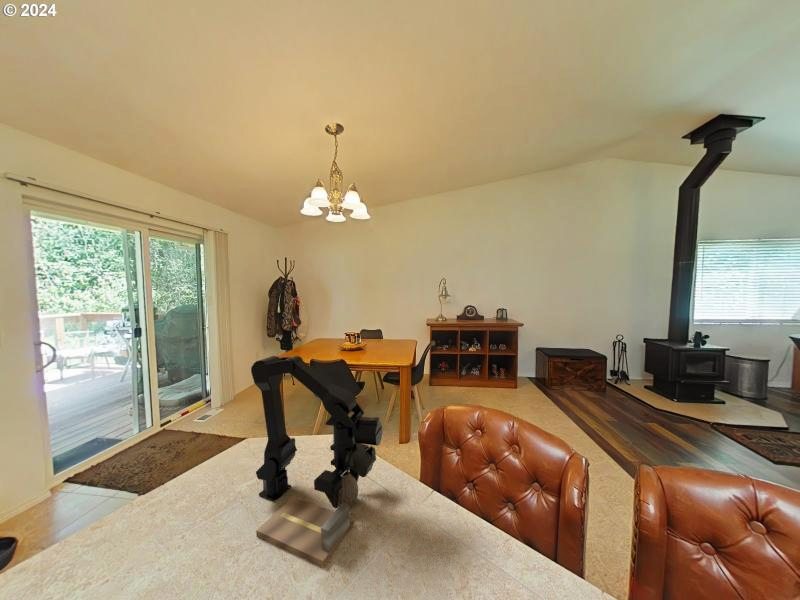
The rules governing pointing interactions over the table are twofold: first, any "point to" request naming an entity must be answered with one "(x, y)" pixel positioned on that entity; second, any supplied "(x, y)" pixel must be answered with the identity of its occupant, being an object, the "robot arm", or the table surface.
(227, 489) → the table surface
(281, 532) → the wooden board with block
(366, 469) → the robot arm
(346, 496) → the vase
